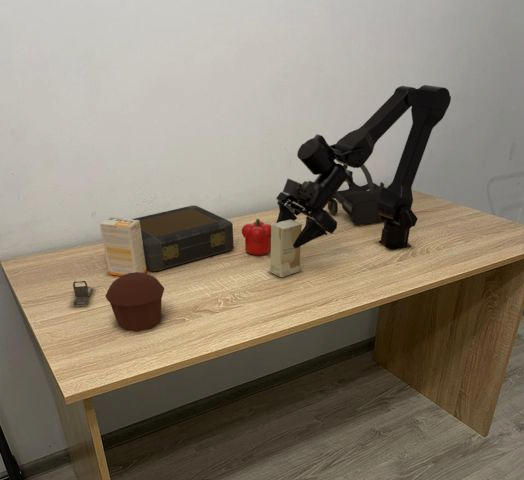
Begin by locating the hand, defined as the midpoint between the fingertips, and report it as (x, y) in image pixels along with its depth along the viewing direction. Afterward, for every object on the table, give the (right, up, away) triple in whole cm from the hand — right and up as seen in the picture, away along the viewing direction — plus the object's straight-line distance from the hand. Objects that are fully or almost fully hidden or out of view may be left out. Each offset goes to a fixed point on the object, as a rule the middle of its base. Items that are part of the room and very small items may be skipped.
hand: (283, 240), depth 126 cm
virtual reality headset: (+25, +17, +41) cm, 51 cm away
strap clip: (-45, -14, -6) cm, 48 cm away
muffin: (-31, -20, -15) cm, 40 cm away
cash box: (-28, +1, +17) cm, 33 cm away
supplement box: (-38, -7, +5) cm, 39 cm away
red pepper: (-6, 0, +16) cm, 17 cm away
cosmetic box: (+1, -7, +5) cm, 8 cm away
